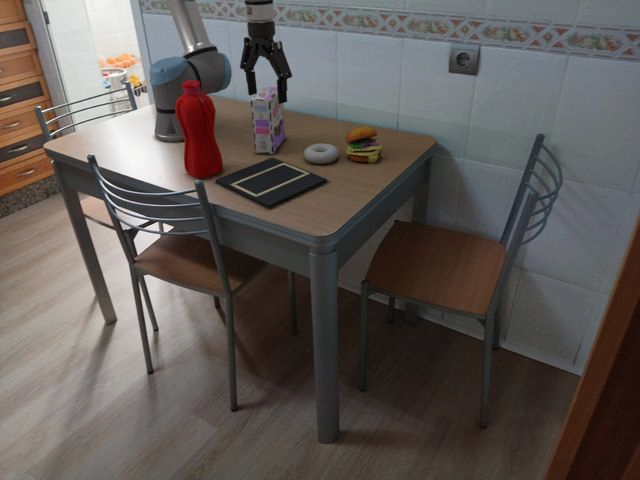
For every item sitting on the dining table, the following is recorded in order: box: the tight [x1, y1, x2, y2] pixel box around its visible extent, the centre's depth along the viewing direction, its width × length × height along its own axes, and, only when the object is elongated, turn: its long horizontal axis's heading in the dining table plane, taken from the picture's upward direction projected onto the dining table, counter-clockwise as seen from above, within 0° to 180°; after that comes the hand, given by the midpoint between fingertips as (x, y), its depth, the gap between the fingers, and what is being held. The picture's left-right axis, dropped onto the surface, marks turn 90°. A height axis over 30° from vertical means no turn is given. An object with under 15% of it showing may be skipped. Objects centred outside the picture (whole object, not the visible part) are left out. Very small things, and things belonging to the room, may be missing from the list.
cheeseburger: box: [344, 126, 383, 164], centre depth 149 cm, size 10×11×10 cm
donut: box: [303, 143, 340, 165], centre depth 150 cm, size 10×3×10 cm
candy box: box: [250, 86, 286, 155], centre depth 156 cm, size 14×6×16 cm, turn 168°
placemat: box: [215, 157, 328, 210], centre depth 138 cm, size 22×20×1 cm
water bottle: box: [175, 80, 224, 180], centre depth 138 cm, size 9×11×25 cm
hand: (267, 98), depth 152 cm, fingers open, 13 cm apart
